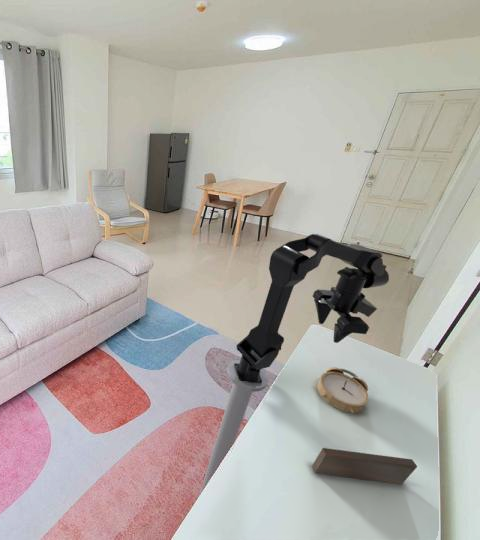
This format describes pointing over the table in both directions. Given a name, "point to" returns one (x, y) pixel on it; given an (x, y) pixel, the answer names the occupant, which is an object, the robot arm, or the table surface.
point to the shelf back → (363, 466)
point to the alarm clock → (343, 390)
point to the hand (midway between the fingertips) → (327, 332)
